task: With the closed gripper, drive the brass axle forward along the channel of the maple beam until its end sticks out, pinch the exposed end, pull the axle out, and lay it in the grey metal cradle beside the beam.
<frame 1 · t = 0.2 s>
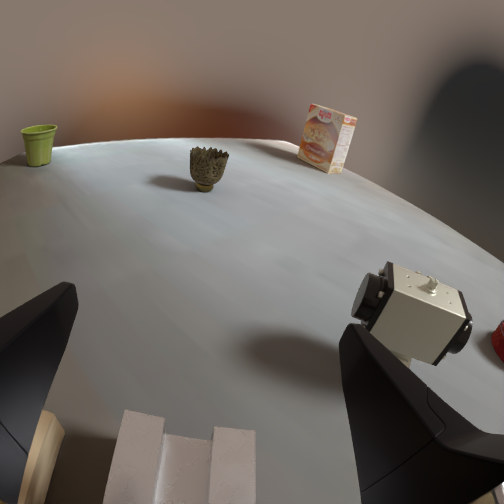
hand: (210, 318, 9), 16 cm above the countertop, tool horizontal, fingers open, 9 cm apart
plant pot: (39, 163, 60), on the countertop
beam: (4, 487, 11), on the countertop
pneumatic valve: (378, 365, 31), on the countertop
cup: (203, 190, 61), on the countertop
coffeecake box: (318, 166, 100), on the countertop
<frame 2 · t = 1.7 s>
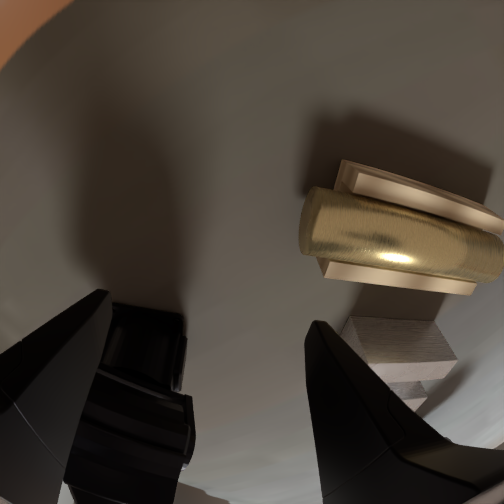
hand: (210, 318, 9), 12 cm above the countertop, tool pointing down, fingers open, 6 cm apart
beam: (410, 226, 22), on the countertop
cradle: (378, 349, 28), on the countertop
axle: (406, 229, 21), point 1 cm above the countertop, touching beam
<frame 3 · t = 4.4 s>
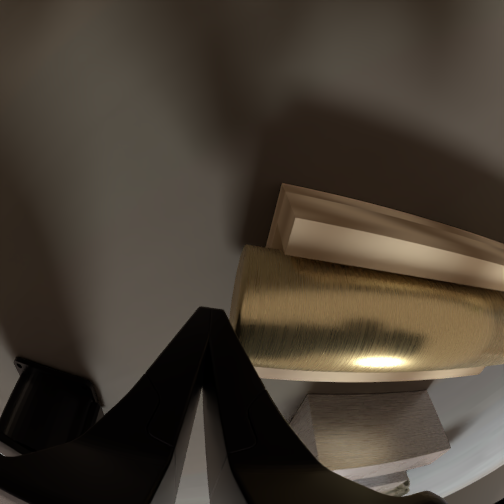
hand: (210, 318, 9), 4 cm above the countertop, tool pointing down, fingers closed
beam: (401, 284, 14), on the countertop
pneumatic valve: (389, 477, 32), on the countertop
cradle: (350, 422, 21), on the countertop
axle: (409, 296, 13), point 1 cm above the countertop, touching beam, gripper
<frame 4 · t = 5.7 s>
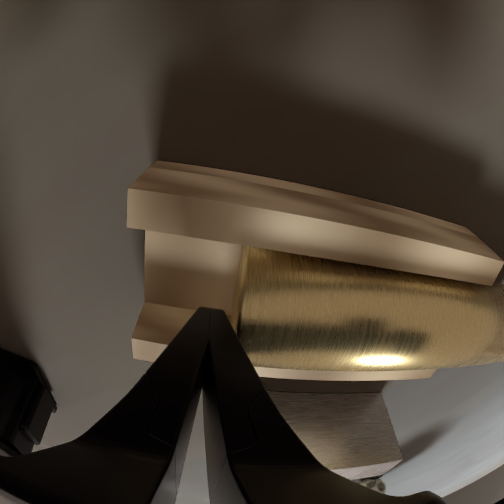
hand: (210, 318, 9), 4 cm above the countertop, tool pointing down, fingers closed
beam: (316, 268, 13), on the countertop
pneumatic valve: (365, 481, 31), on the countertop
cradle: (296, 423, 20), on the countertop
axle: (411, 294, 13), point 1 cm above the countertop, touching beam, gripper
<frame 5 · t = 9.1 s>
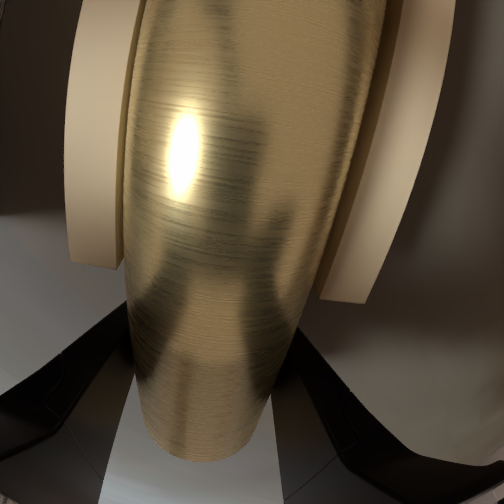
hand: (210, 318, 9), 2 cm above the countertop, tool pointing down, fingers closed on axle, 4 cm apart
axle: (237, 160, 8), point 1 cm above the countertop, touching beam, gripper
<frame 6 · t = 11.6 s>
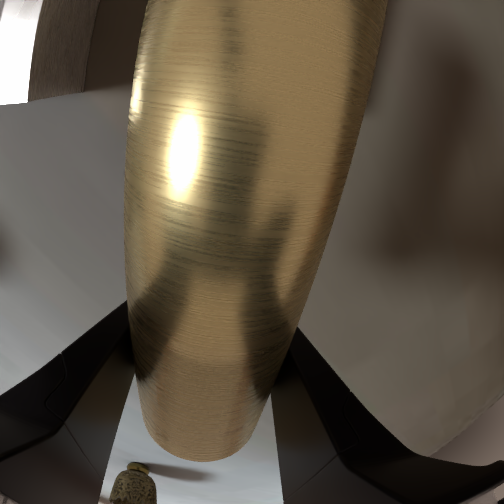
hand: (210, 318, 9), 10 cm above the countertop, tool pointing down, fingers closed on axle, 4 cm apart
cup: (138, 464, 39), on the countertop
cradle: (42, 18, 11), on the countertop
axle: (237, 161, 8), point 9 cm above the countertop, touching gripper
when the fingers open (7 cm above the countertop, at t = 13.9 s): axle drops 1 cm, resting on cradle.
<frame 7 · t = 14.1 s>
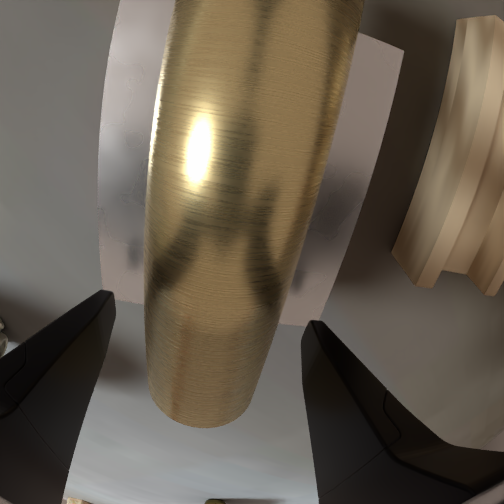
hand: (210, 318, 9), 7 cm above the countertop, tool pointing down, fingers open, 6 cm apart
beam: (476, 155, 14), on the countertop
cup: (215, 499, 41), on the countertop
cradle: (235, 144, 13), on the countertop
axle: (240, 154, 9), point 5 cm above the countertop, touching cradle
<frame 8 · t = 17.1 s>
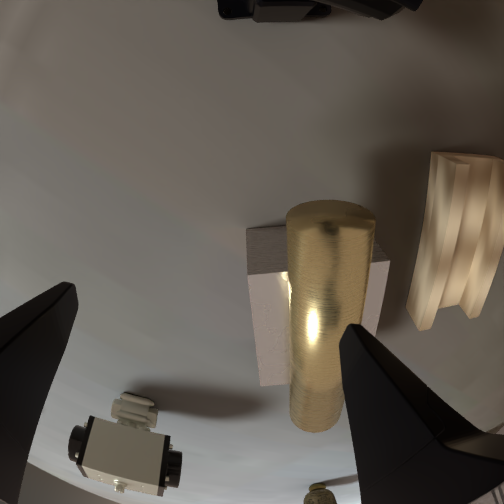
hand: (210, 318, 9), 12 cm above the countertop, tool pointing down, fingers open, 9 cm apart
beam: (453, 235, 22), on the countertop
pneumatic valve: (137, 402, 32), on the countertop
cup: (316, 483, 51), on the countertop
cradle: (304, 283, 24), on the countertop
axle: (319, 320, 19), point 5 cm above the countertop, touching cradle
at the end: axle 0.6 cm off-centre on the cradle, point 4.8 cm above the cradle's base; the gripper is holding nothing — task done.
